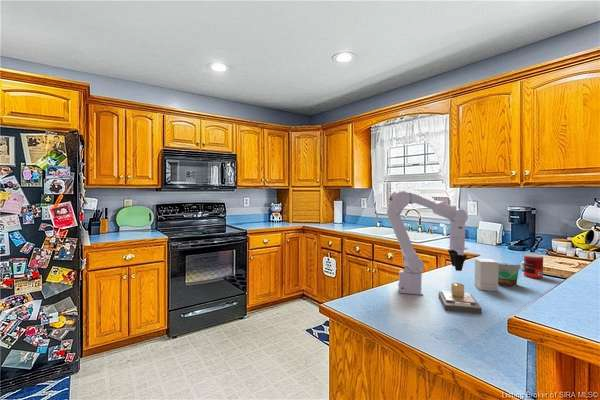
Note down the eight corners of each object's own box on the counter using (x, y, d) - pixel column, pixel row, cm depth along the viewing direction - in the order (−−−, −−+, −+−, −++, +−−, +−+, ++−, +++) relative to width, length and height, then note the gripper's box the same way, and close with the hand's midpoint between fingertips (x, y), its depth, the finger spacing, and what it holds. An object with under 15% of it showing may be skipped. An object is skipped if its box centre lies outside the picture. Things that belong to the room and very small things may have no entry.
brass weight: (453, 297, 119) (453, 286, 119) (449, 293, 123) (450, 282, 123) (465, 298, 118) (465, 286, 118) (461, 294, 122) (462, 283, 122)
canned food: (541, 275, 157) (542, 254, 157) (543, 279, 151) (544, 257, 150) (523, 273, 161) (523, 252, 161) (524, 277, 155) (524, 255, 154)
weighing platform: (446, 301, 117) (446, 299, 117) (441, 291, 127) (441, 290, 127) (476, 304, 114) (476, 302, 114) (468, 294, 124) (468, 292, 124)
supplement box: (498, 291, 134) (499, 262, 134) (479, 290, 136) (480, 261, 135) (491, 285, 142) (492, 258, 141) (474, 284, 143) (474, 257, 143)
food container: (491, 285, 142) (492, 263, 142) (489, 281, 148) (489, 260, 147) (523, 288, 138) (524, 266, 137) (519, 284, 143) (520, 263, 143)
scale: (445, 310, 114) (445, 301, 114) (438, 296, 128) (438, 288, 128) (481, 313, 110) (481, 305, 110) (471, 299, 125) (471, 291, 125)
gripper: (472, 239, 124) (471, 273, 125) (463, 234, 138) (463, 264, 138) (452, 239, 126) (452, 272, 127) (446, 234, 140) (445, 263, 140)
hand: (456, 268), depth 133 cm, fingers open, 7 cm apart
